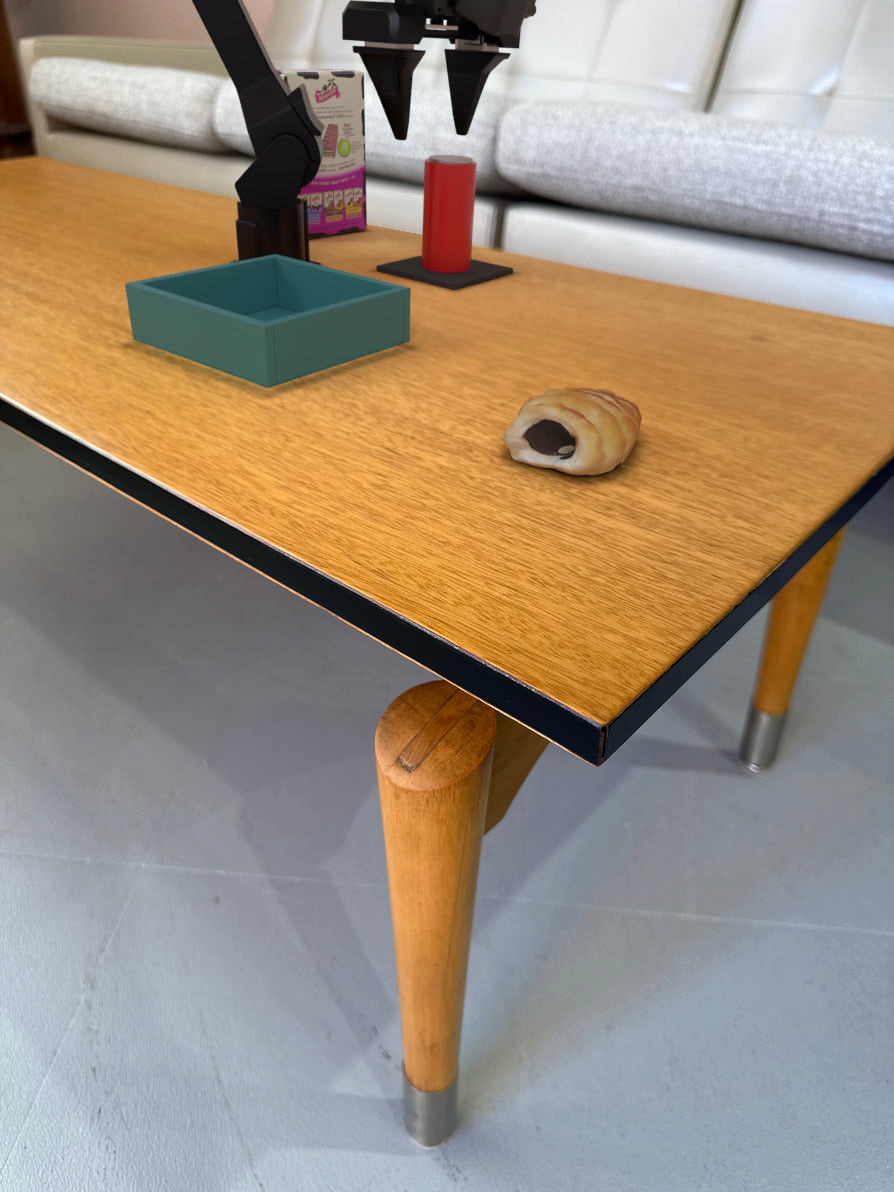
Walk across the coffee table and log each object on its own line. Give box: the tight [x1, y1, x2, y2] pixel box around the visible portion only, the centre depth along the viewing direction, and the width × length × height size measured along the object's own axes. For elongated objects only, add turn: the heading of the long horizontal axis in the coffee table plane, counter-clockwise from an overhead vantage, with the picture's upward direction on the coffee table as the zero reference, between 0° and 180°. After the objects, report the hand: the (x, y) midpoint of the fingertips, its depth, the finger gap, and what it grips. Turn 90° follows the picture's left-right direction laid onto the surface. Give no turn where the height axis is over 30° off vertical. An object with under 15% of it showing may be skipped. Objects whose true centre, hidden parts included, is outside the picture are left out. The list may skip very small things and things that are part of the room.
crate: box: [124, 254, 412, 389], centre depth 65 cm, size 15×15×4 cm
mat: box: [375, 254, 514, 290], centre depth 88 cm, size 10×10×1 cm
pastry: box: [503, 387, 643, 477], centre depth 51 cm, size 9×7×4 cm
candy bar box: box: [276, 68, 368, 239], centre depth 98 cm, size 11×5×16 cm, turn 137°
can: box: [421, 154, 478, 273], centre depth 86 cm, size 5×5×10 cm
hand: (432, 137), depth 81 cm, fingers open, 9 cm apart
